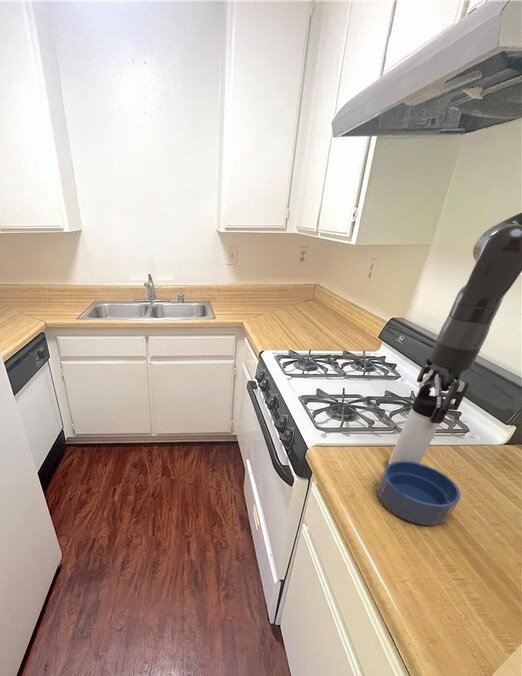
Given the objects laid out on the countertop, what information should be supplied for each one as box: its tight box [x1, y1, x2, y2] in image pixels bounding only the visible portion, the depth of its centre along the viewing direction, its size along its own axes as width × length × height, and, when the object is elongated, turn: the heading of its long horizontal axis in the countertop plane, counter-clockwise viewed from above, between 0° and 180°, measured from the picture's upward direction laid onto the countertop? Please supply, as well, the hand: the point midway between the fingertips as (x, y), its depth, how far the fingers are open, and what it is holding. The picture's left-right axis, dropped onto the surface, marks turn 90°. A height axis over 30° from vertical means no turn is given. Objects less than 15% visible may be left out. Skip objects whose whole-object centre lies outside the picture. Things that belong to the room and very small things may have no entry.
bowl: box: [376, 461, 462, 526], centre depth 75 cm, size 14×14×6 cm
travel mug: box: [387, 394, 445, 466], centre depth 81 cm, size 6×7×20 cm
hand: (426, 412), depth 77 cm, fingers open, 8 cm apart
